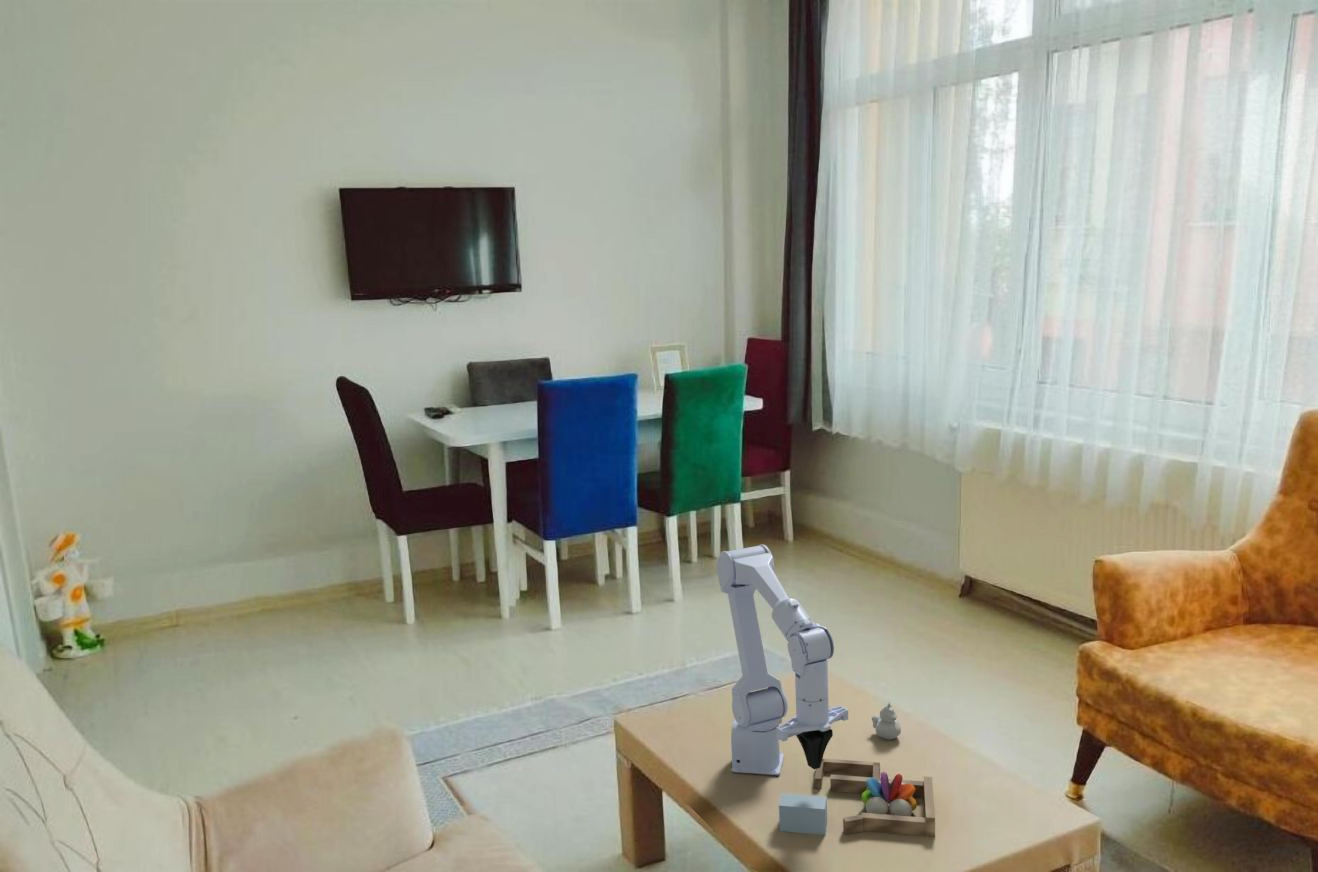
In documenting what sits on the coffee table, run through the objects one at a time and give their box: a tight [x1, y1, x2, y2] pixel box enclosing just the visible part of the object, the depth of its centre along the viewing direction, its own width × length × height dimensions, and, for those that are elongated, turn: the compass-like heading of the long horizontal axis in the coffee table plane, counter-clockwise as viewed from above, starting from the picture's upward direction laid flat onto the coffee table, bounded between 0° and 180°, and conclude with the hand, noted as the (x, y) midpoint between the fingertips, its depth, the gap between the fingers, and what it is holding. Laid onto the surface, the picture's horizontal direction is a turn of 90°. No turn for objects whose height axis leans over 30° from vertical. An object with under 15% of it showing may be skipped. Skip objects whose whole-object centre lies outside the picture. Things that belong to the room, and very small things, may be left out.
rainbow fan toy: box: [861, 771, 918, 817], centre depth 174 cm, size 8×10×7 cm
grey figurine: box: [871, 702, 902, 741], centre depth 200 cm, size 5×7×8 cm
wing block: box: [778, 792, 828, 836], centre depth 171 cm, size 8×4×5 cm, turn 76°
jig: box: [814, 758, 936, 838], centre depth 177 cm, size 22×22×4 cm
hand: (814, 766), depth 173 cm, fingers closed
